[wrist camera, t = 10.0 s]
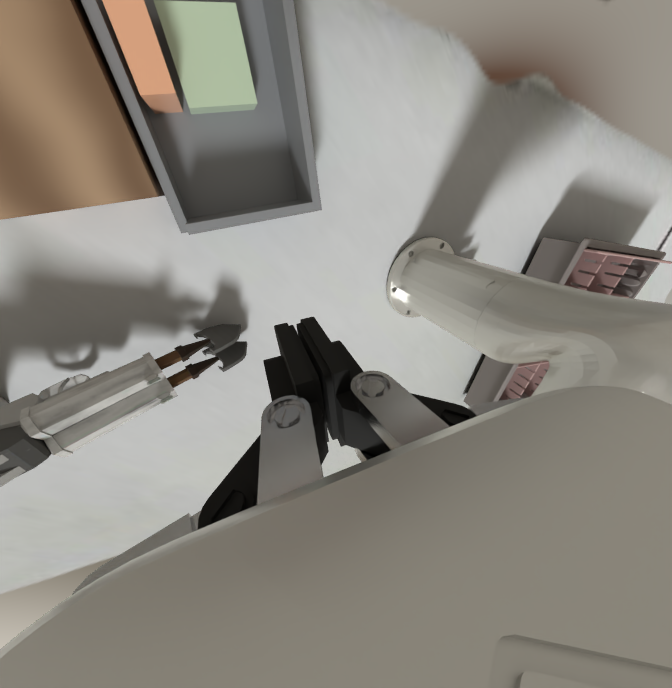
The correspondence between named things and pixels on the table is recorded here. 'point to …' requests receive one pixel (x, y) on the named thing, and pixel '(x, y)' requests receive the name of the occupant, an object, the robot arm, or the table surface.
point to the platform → (63, 116)
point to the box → (229, 127)
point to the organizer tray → (574, 271)
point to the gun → (100, 402)
